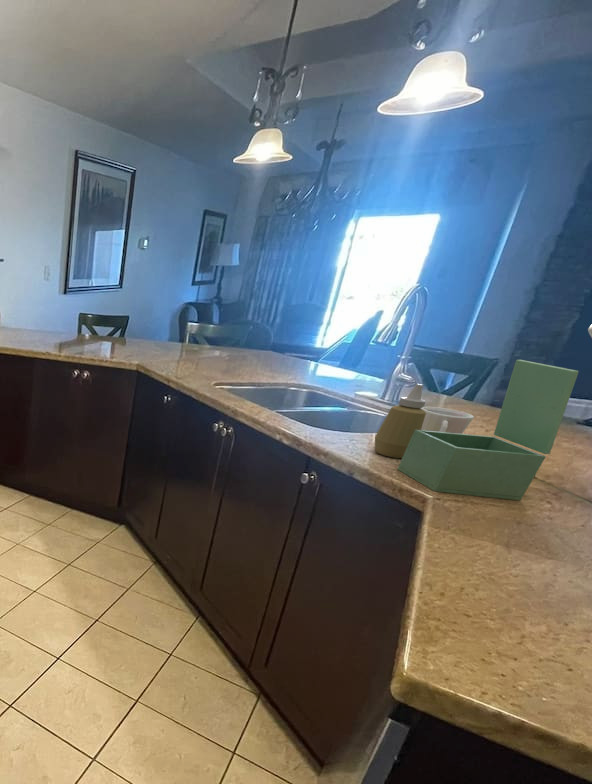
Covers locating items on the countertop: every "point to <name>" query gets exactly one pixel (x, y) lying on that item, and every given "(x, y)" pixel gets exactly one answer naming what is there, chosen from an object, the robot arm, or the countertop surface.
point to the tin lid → (535, 404)
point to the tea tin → (470, 464)
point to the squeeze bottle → (401, 424)
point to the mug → (445, 420)
